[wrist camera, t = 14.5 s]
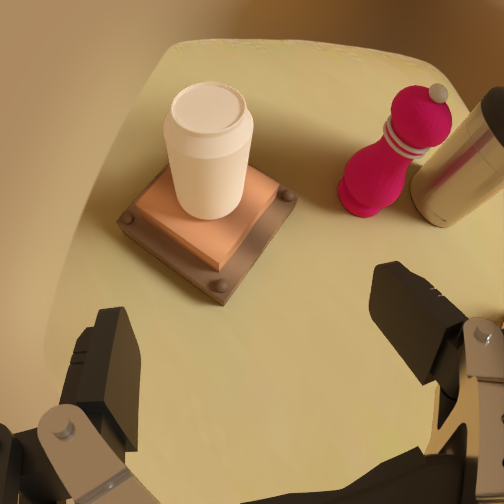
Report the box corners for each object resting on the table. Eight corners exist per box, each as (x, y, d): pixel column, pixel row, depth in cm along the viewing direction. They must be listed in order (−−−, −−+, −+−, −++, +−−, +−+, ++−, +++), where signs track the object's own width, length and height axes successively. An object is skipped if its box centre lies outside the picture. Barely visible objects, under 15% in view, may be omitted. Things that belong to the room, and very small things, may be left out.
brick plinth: (198, 149, 39) (197, 117, 33) (293, 208, 37) (306, 181, 32) (123, 232, 34) (107, 208, 29) (223, 306, 33) (224, 295, 27)
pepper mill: (372, 232, 38) (473, 135, 19) (324, 199, 38) (397, 79, 19) (391, 192, 40) (478, 94, 21) (347, 162, 41) (414, 48, 22)
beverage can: (221, 158, 32) (226, 66, 20) (254, 204, 30) (275, 119, 19) (166, 184, 30) (145, 96, 19) (196, 235, 29) (186, 157, 17)
